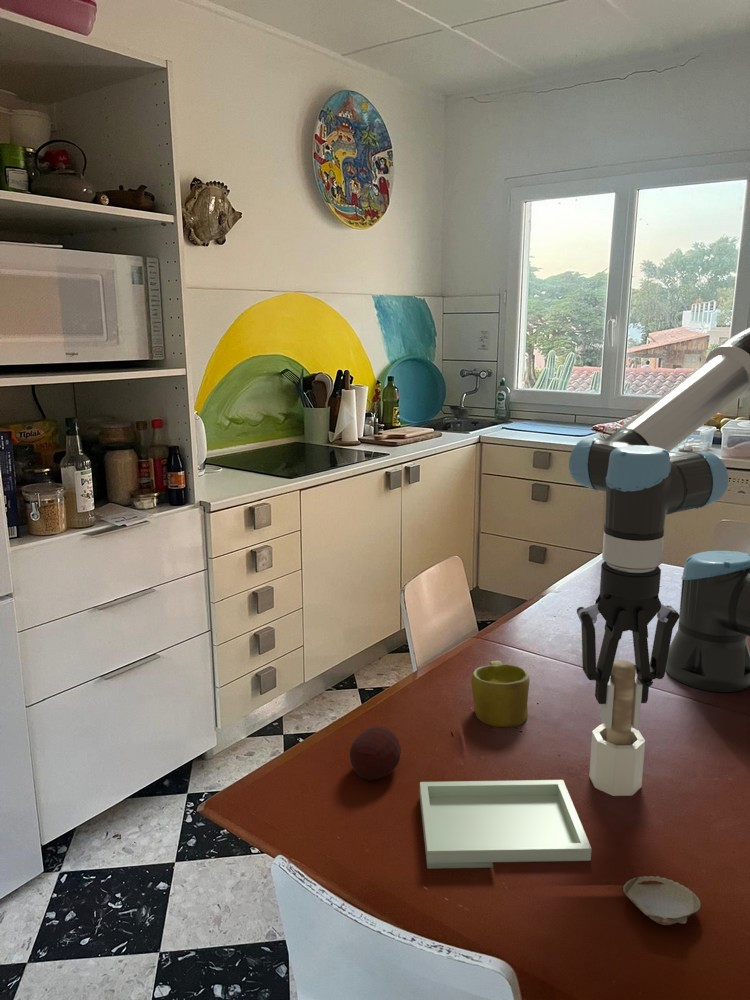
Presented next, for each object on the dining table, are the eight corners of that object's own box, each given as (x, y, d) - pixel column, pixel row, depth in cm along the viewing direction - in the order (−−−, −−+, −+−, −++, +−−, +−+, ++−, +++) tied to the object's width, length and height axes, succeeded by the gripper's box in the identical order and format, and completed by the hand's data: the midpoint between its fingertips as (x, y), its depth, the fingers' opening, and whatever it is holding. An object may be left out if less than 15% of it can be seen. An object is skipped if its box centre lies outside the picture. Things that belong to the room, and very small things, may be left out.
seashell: (690, 908, 90) (622, 876, 92) (699, 886, 89) (631, 854, 92) (692, 951, 82) (618, 915, 85) (702, 927, 82) (627, 891, 84)
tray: (562, 795, 108) (563, 779, 107) (590, 865, 94) (591, 848, 93) (419, 797, 107) (419, 781, 107) (427, 868, 94) (427, 851, 93)
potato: (340, 784, 111) (339, 746, 109) (365, 747, 120) (365, 711, 119) (388, 794, 108) (388, 755, 107) (410, 756, 118) (410, 719, 116)
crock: (630, 772, 113) (634, 723, 111) (645, 800, 106) (650, 748, 104) (585, 772, 113) (588, 723, 111) (598, 800, 106) (601, 749, 104)
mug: (538, 729, 121) (521, 667, 121) (476, 740, 124) (459, 680, 124) (542, 705, 133) (527, 649, 133) (485, 716, 136) (470, 661, 136)
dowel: (622, 774, 111) (631, 659, 107) (629, 787, 108) (639, 670, 103) (600, 774, 111) (608, 660, 107) (607, 788, 108) (615, 670, 103)
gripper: (681, 553, 105) (667, 708, 111) (562, 555, 105) (555, 710, 111) (704, 572, 98) (688, 736, 104) (577, 573, 98) (568, 738, 103)
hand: (619, 722), depth 107 cm, fingers closed on dowel, 3 cm apart
